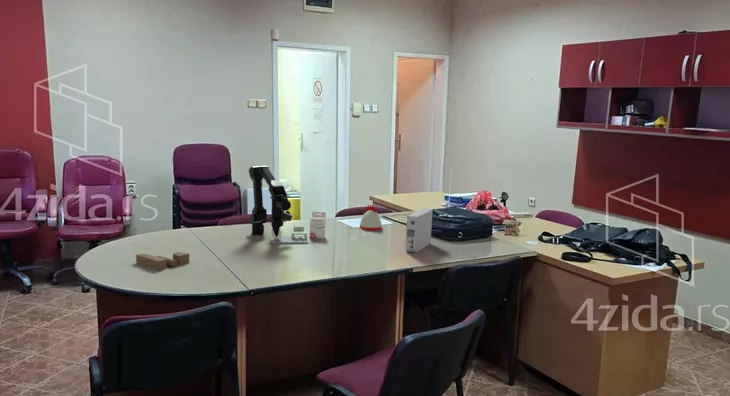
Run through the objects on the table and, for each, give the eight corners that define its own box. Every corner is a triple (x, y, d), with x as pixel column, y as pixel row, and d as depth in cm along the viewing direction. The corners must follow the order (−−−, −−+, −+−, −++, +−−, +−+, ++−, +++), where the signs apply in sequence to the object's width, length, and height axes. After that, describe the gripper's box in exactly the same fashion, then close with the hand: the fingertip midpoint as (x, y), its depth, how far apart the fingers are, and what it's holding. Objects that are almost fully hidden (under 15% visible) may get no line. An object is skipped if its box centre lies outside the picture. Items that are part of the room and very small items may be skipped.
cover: (292, 238, 306) (292, 229, 305) (291, 235, 312) (291, 226, 311) (306, 238, 307) (307, 229, 306) (305, 235, 314) (305, 226, 313)
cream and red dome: (368, 224, 357) (369, 202, 355) (385, 228, 349) (386, 205, 347) (355, 228, 346) (356, 204, 344) (373, 231, 338) (374, 207, 336)
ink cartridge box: (309, 237, 315) (309, 212, 312) (311, 235, 319) (311, 211, 317) (324, 238, 314) (324, 213, 311) (325, 236, 319) (326, 212, 316)
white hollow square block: (272, 238, 300) (272, 231, 299) (271, 236, 304) (271, 229, 304) (281, 238, 301) (281, 231, 300) (280, 236, 305) (281, 229, 305)
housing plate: (271, 244, 296) (271, 237, 296) (270, 238, 310) (270, 231, 309) (308, 243, 301) (308, 236, 300) (305, 237, 314) (305, 231, 314)
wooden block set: (158, 259, 241) (135, 252, 251) (159, 271, 242) (135, 264, 252) (190, 252, 255) (166, 245, 265) (190, 263, 256) (167, 257, 266)
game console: (431, 243, 313) (433, 209, 310) (415, 253, 288) (417, 216, 285) (421, 242, 315) (423, 208, 312) (405, 252, 291) (407, 215, 287)
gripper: (292, 210, 293) (292, 239, 295) (290, 204, 311) (289, 231, 313) (271, 210, 290) (271, 239, 293) (270, 204, 308) (270, 231, 311)
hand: (276, 235), depth 302 cm, fingers closed on white hollow square block, 5 cm apart
